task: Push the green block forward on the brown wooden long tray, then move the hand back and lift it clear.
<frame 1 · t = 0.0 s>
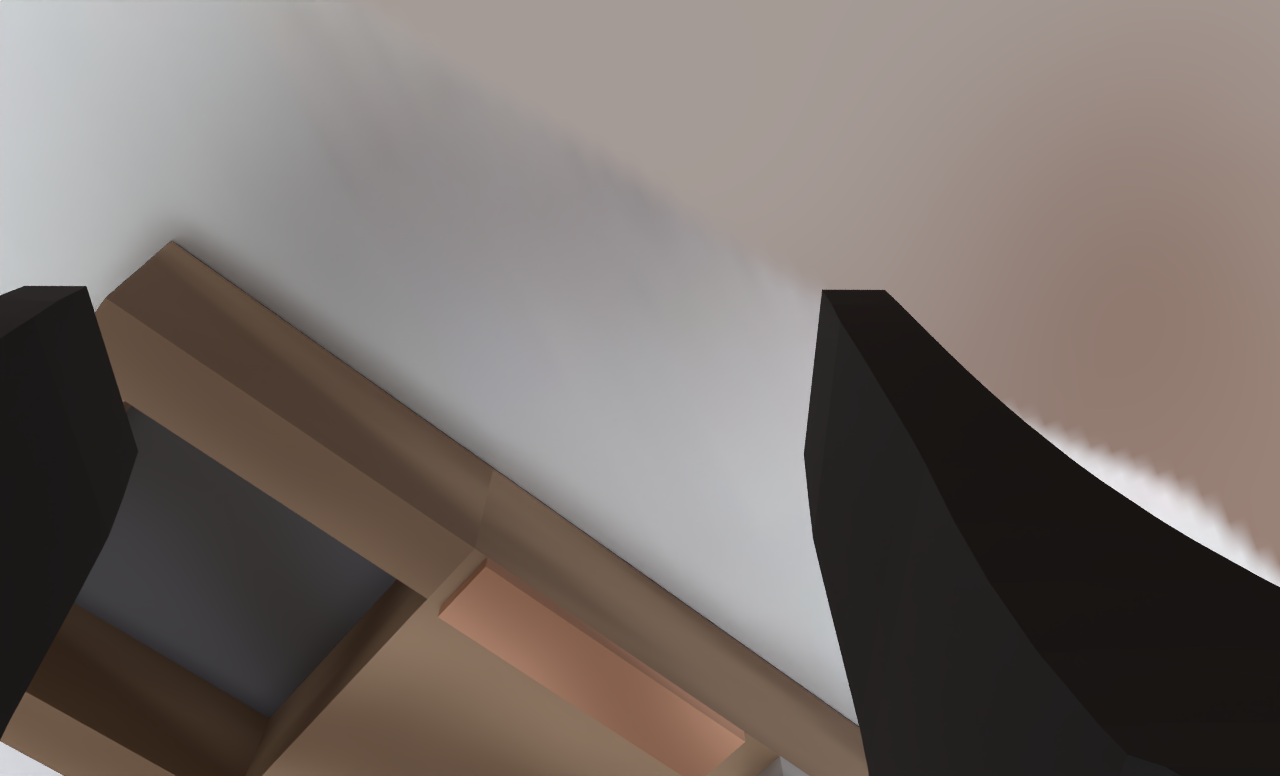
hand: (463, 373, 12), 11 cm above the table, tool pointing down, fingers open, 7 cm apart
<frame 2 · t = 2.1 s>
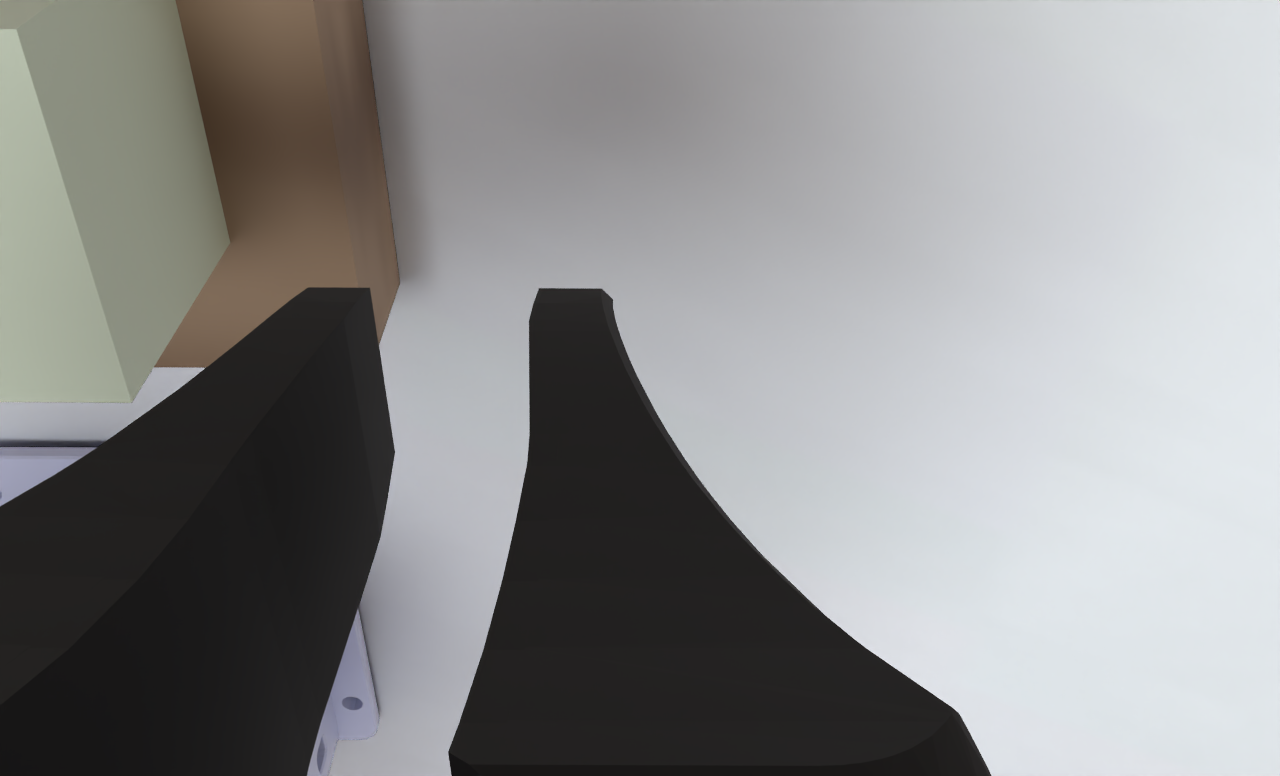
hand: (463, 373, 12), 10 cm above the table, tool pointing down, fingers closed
green block: (33, 96, 18), point 3 cm above the table, touching brown wooden long tray
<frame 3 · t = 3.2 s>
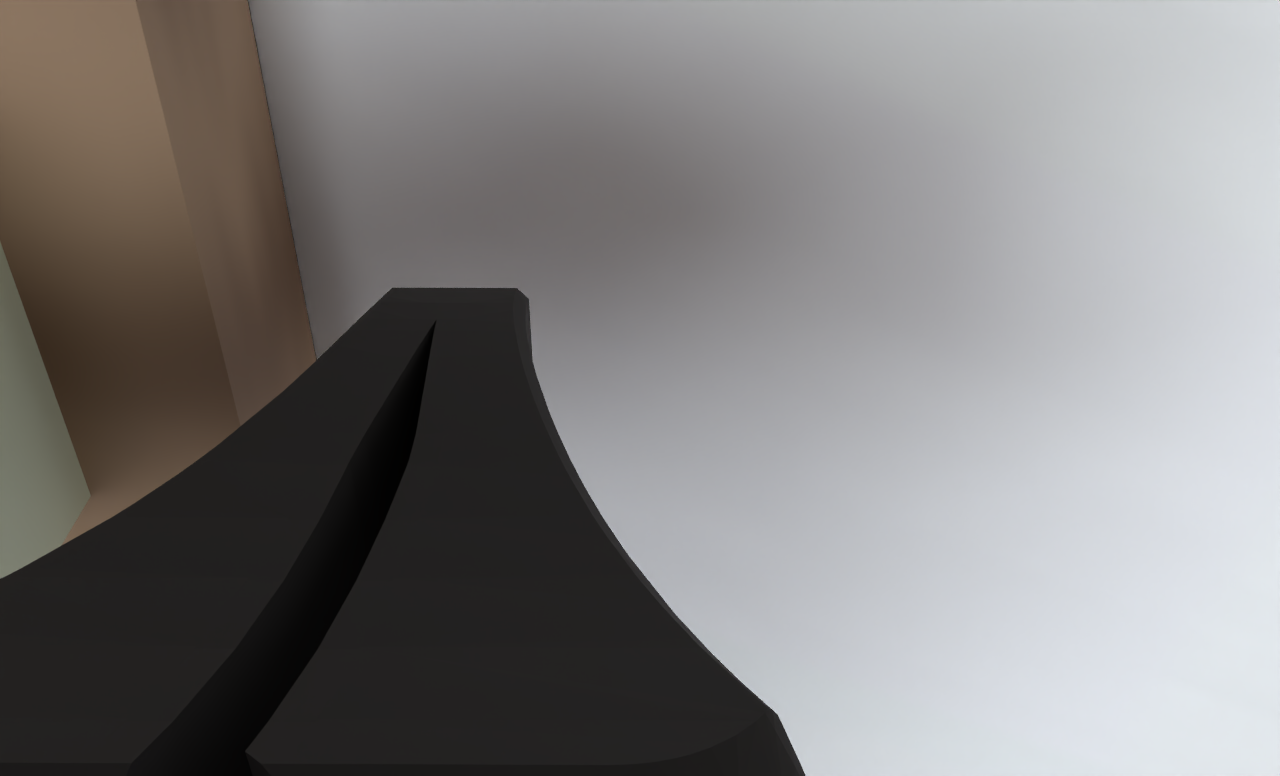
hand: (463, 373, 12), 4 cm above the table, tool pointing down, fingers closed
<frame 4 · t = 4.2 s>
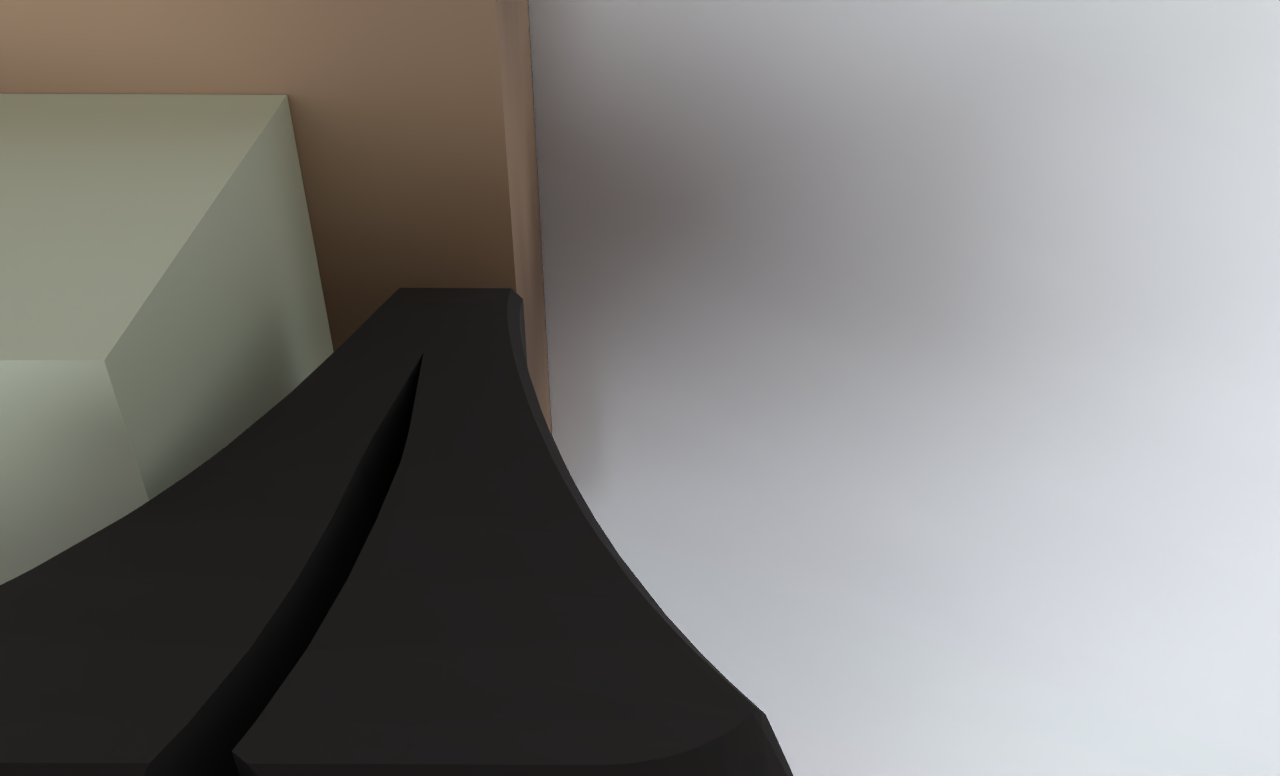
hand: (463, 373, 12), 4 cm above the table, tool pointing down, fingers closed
green block: (94, 318, 12), point 3 cm above the table, touching gripper, brown wooden long tray
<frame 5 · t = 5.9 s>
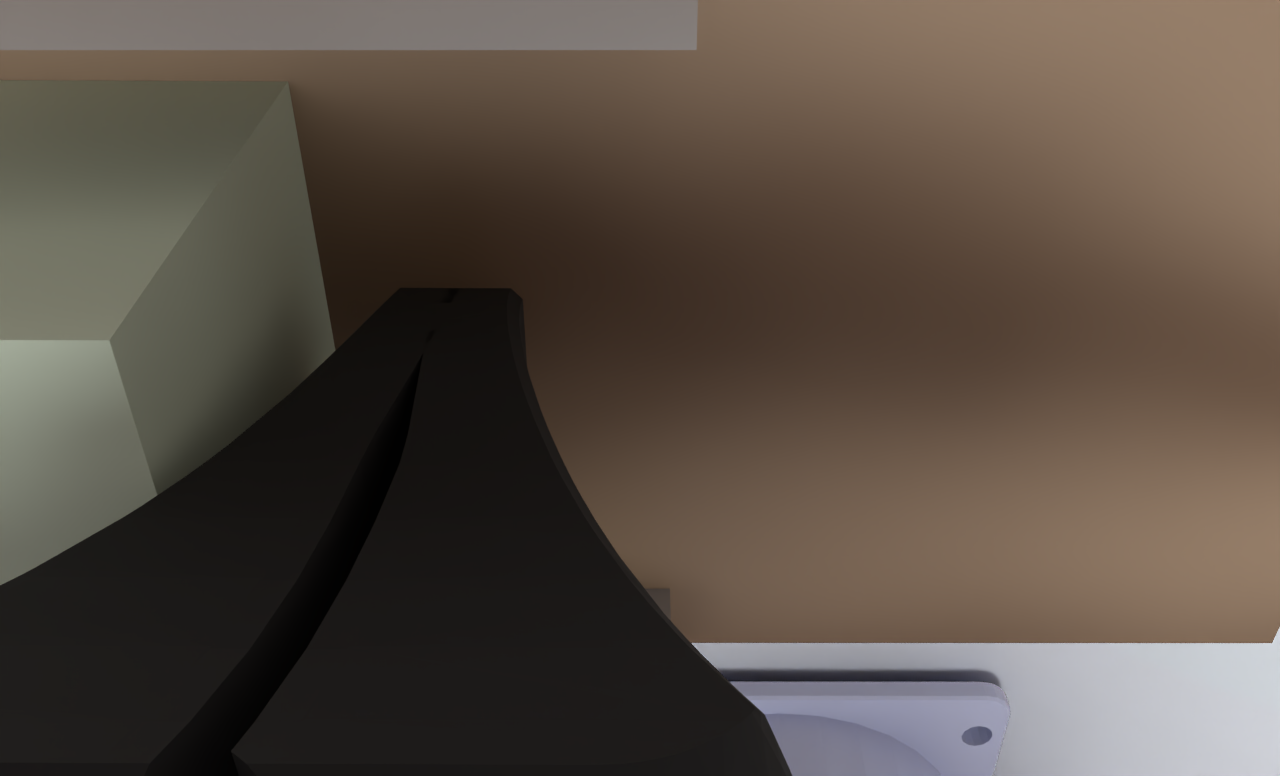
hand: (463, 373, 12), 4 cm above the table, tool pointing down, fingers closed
green block: (93, 307, 12), point 3 cm above the table, touching gripper
brown wooden long tray: (108, 199, 15), on the table
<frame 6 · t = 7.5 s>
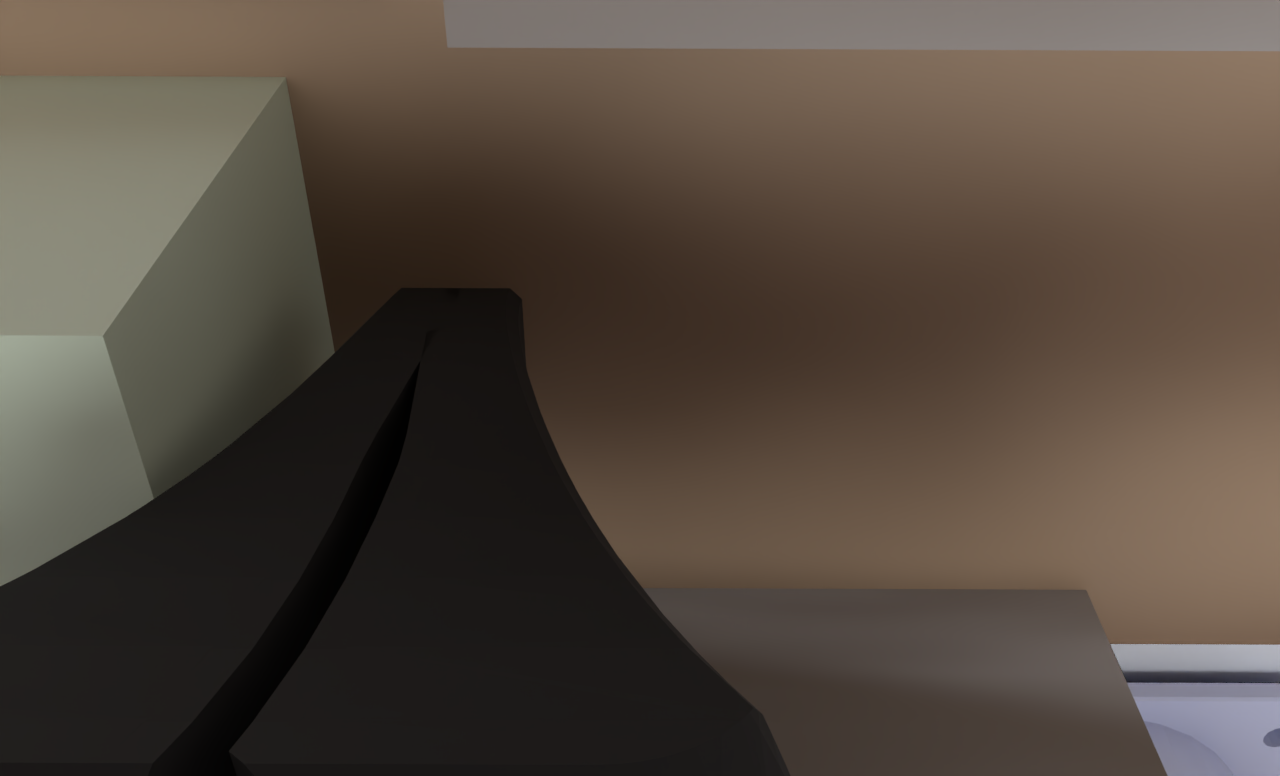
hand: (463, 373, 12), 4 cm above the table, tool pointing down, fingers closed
green block: (91, 304, 12), point 3 cm above the table, touching gripper, brown wooden long tray
brown wooden long tray: (520, 197, 15), on the table
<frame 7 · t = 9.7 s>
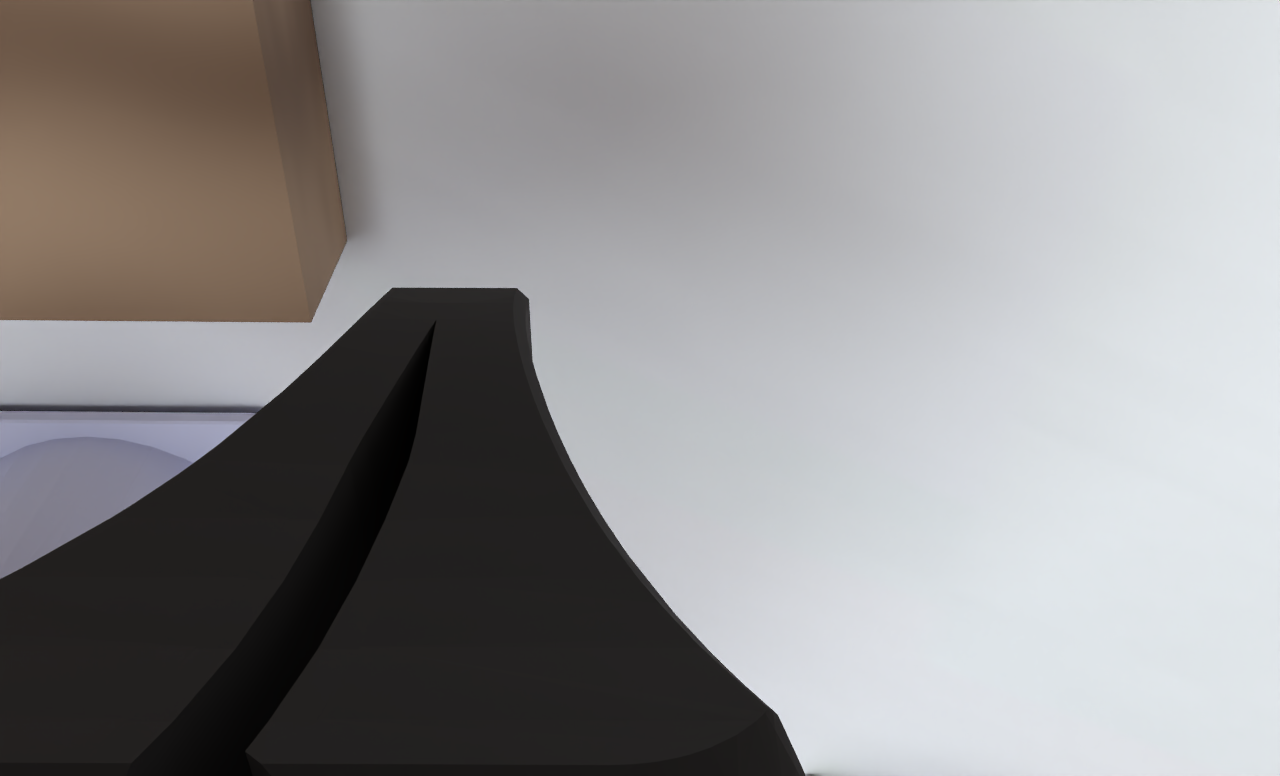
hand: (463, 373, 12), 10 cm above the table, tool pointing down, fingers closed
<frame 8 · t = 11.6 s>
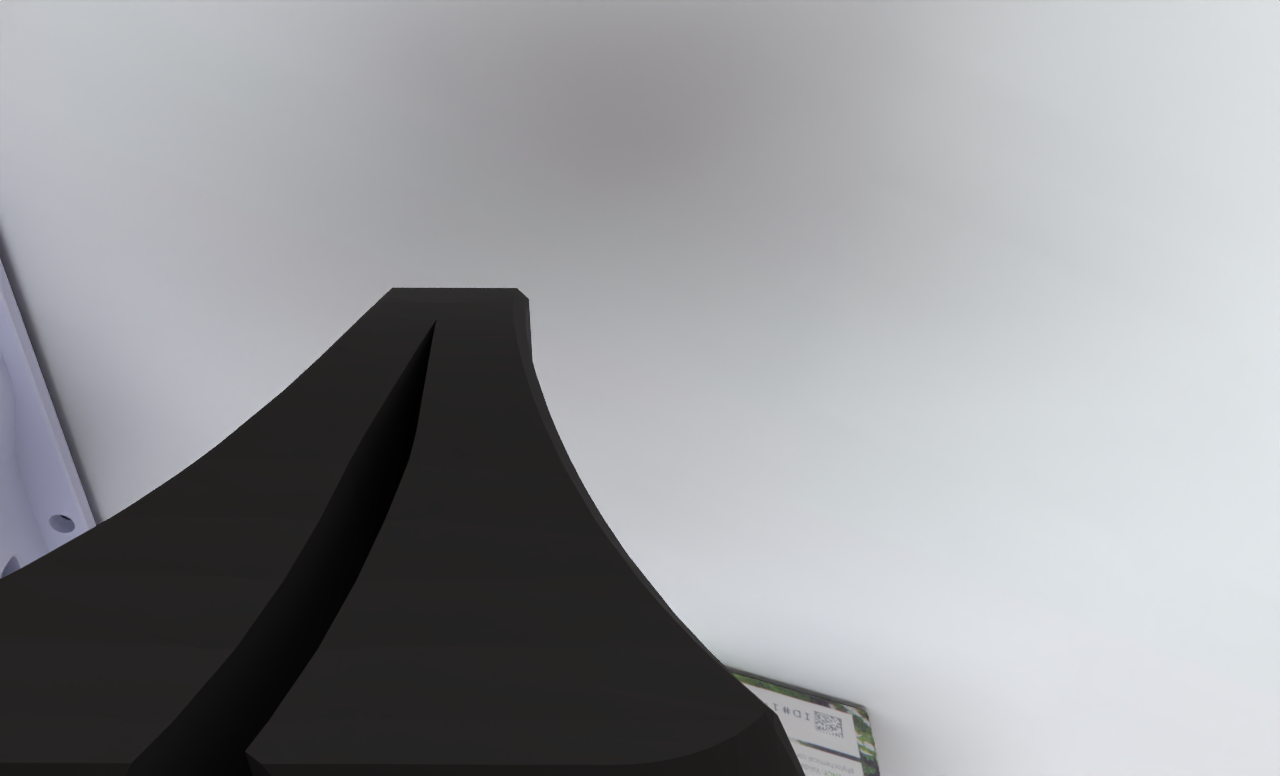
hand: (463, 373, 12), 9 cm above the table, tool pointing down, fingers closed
syrup box: (723, 735, 30), on the table
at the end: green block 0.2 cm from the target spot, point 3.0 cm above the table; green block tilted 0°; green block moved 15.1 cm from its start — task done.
